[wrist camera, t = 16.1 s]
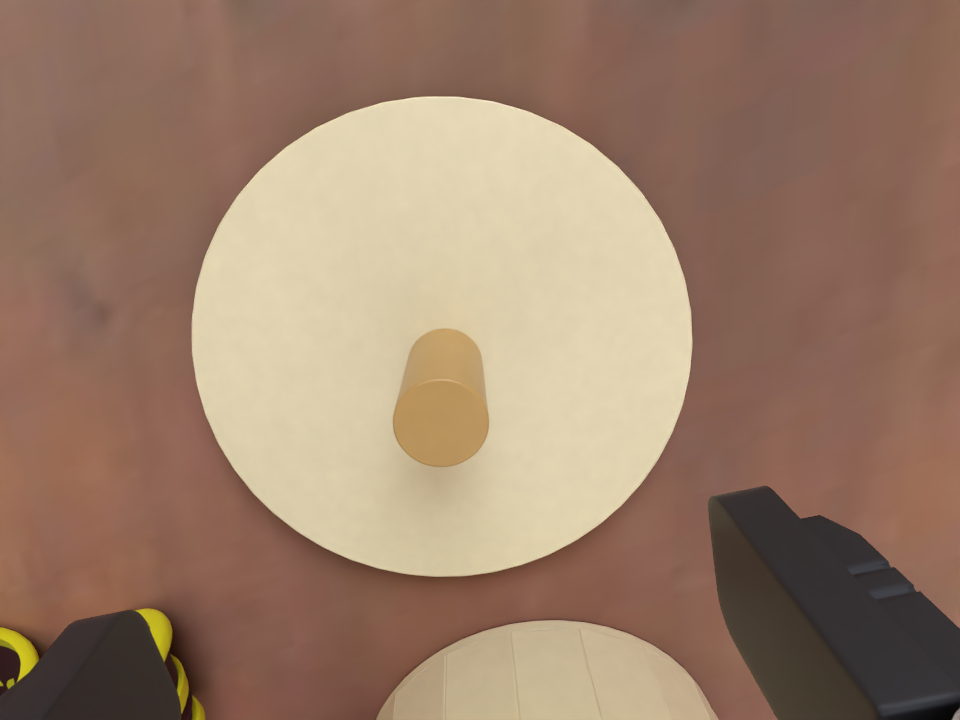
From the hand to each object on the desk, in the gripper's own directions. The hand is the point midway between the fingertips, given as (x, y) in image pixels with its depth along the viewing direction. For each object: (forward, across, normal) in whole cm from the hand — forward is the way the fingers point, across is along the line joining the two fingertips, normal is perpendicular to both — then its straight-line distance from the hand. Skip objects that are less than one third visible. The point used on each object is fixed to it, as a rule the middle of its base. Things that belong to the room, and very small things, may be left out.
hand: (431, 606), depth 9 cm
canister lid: (+12, 0, 0) cm, 12 cm away
